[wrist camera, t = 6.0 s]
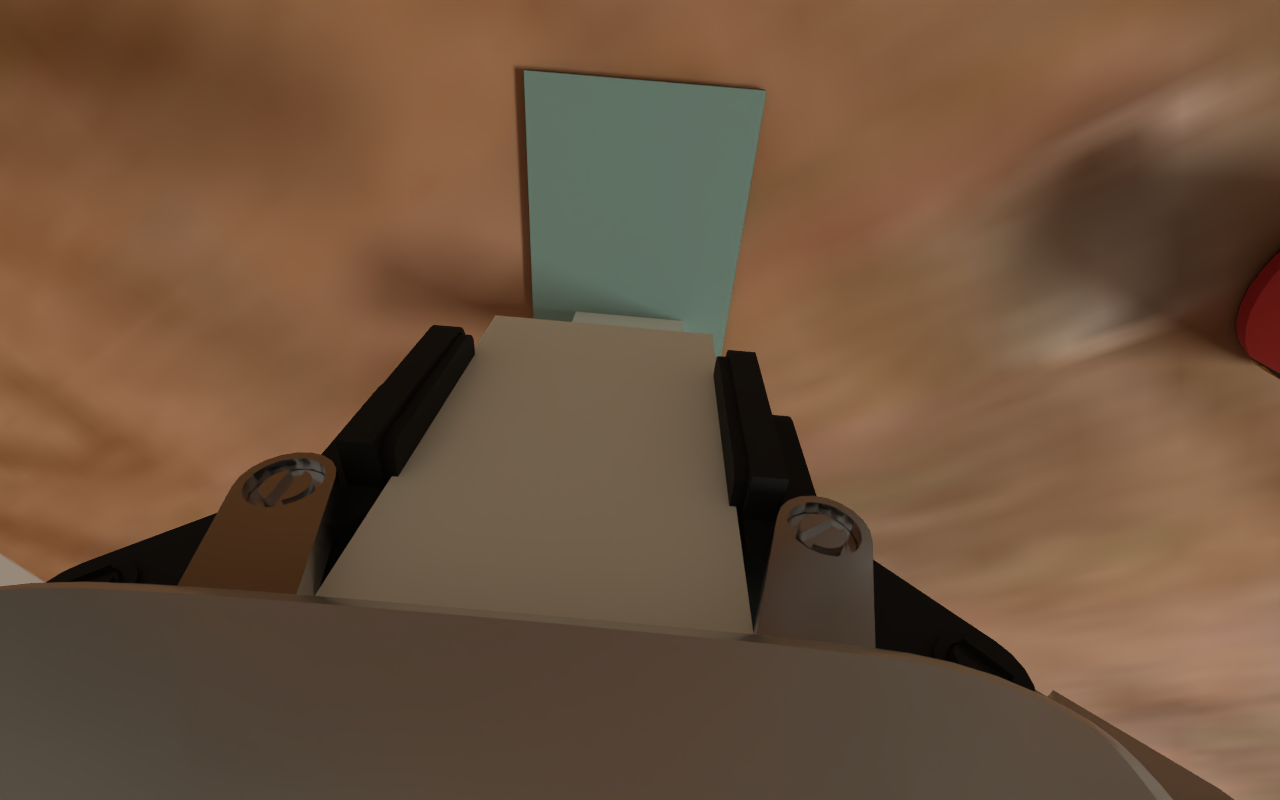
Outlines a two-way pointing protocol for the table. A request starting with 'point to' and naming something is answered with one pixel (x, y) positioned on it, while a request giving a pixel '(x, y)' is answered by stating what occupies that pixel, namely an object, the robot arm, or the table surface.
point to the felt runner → (637, 196)
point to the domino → (564, 486)
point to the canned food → (1262, 319)
